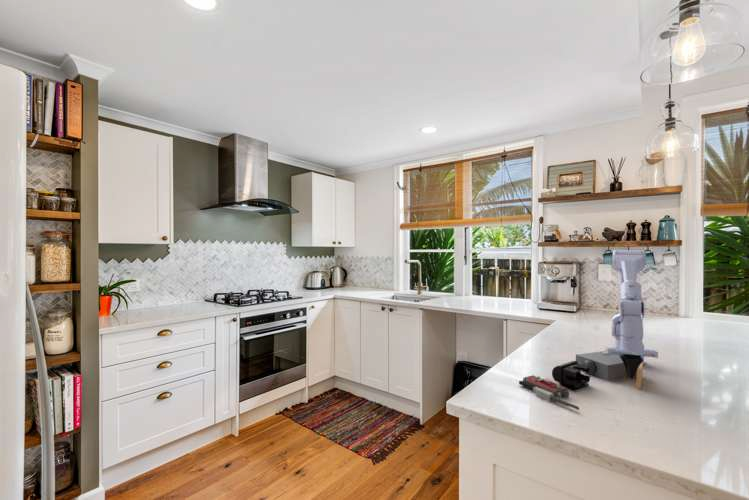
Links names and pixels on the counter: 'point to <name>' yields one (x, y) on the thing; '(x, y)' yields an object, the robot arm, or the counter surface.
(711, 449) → the counter surface
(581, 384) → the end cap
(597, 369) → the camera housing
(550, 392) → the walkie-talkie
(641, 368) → the long wooden stick
